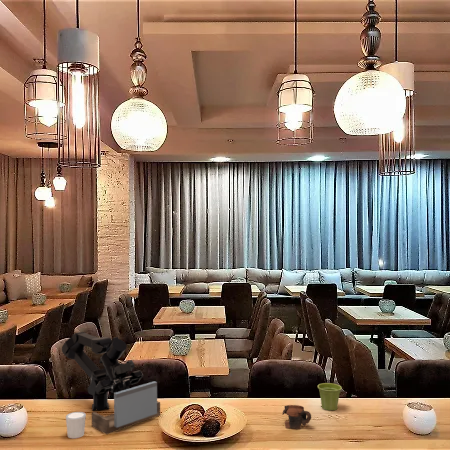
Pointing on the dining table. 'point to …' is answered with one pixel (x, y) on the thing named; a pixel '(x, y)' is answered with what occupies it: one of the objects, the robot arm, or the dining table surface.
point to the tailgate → (135, 404)
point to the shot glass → (75, 424)
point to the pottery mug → (296, 416)
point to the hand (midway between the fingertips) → (128, 401)
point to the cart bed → (107, 422)
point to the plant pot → (329, 395)
